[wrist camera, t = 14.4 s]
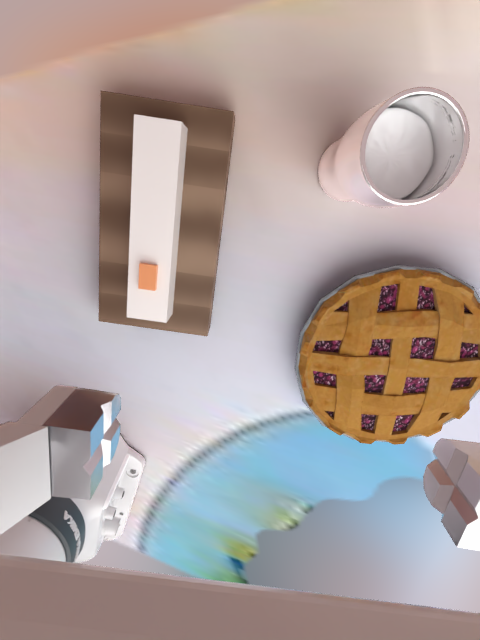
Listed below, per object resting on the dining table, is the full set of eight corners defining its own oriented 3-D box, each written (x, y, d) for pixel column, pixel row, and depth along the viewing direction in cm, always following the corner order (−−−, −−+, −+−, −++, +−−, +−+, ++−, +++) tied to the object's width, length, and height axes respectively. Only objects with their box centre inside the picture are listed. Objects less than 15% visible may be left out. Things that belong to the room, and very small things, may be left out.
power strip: (177, 307, 40) (165, 324, 34) (142, 302, 40) (124, 319, 34) (191, 133, 34) (180, 119, 28) (151, 127, 34) (131, 112, 28)
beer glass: (383, 200, 36) (470, 199, 22) (316, 211, 37) (359, 217, 22) (381, 125, 34) (477, 71, 20) (310, 138, 34) (353, 94, 20)
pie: (295, 431, 46) (300, 458, 41) (287, 269, 39) (292, 278, 34) (464, 421, 45) (490, 447, 40) (487, 251, 38) (522, 258, 33)
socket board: (209, 326, 41) (207, 336, 38) (109, 312, 41) (98, 321, 38) (235, 118, 34) (234, 111, 31) (113, 99, 34) (100, 90, 31)
